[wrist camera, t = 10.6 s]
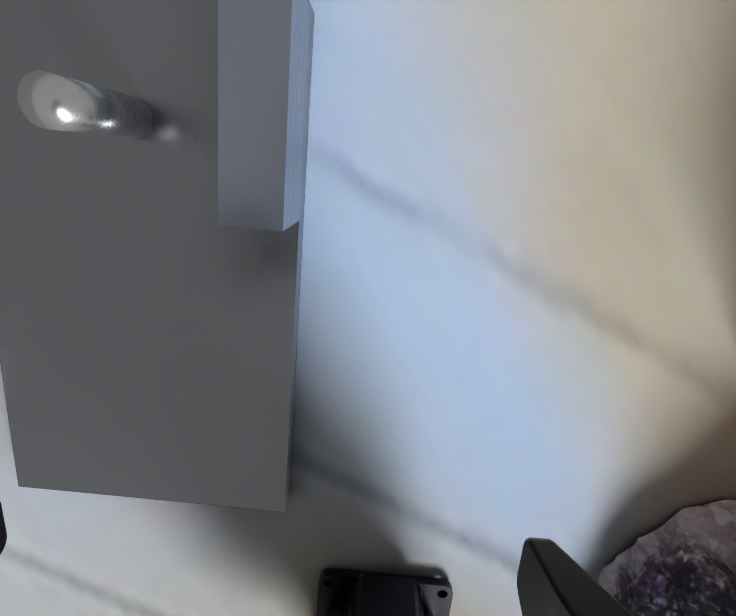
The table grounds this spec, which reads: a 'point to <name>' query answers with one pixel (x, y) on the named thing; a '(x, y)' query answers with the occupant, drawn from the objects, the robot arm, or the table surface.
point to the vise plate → (153, 244)
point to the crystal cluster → (680, 566)
